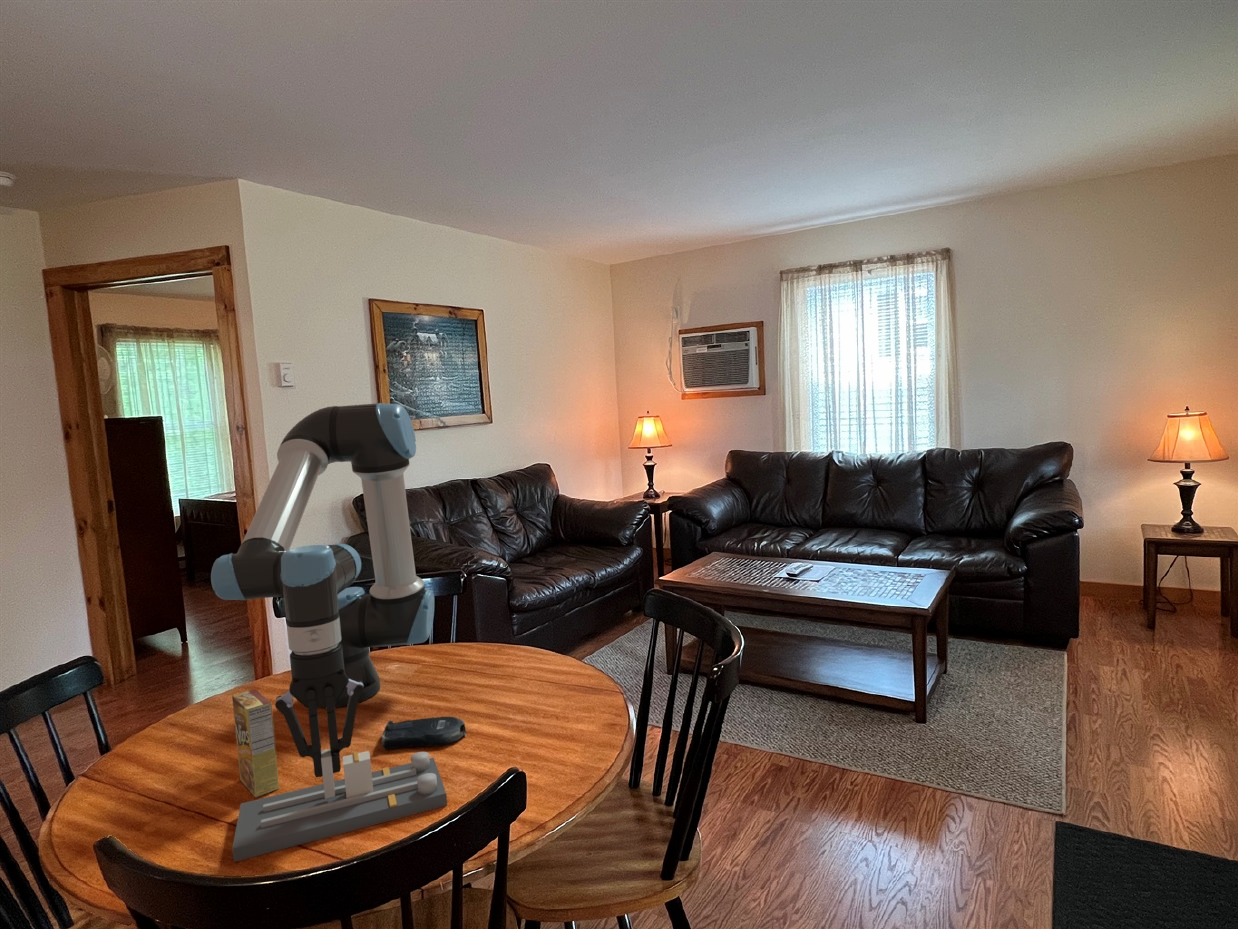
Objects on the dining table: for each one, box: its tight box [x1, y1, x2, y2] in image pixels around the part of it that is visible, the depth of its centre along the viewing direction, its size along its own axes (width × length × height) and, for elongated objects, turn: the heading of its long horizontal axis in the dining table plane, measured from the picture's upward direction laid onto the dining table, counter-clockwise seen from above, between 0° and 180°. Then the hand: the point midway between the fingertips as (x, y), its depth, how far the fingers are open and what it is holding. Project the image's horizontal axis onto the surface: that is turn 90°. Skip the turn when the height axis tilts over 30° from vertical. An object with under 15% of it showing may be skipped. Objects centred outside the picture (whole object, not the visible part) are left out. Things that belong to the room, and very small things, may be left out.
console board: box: [232, 751, 448, 863], centre depth 114 cm, size 13×30×4 cm, turn 113°
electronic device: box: [381, 716, 467, 751], centre depth 138 cm, size 9×6×15 cm
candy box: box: [231, 688, 280, 799], centre depth 123 cm, size 9×4×15 cm, turn 43°
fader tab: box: [342, 750, 373, 798], centre depth 115 cm, size 3×4×6 cm
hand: (329, 793), depth 113 cm, fingers closed
